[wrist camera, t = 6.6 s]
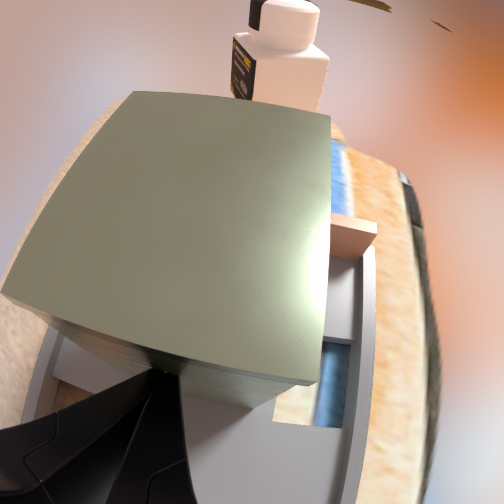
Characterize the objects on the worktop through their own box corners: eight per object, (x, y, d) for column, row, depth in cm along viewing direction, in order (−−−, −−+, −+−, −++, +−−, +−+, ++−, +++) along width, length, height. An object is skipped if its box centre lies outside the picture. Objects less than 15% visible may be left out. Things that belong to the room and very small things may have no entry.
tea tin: (255, 411, 14) (317, 381, 4) (134, 382, 14) (0, 292, 5) (277, 284, 18) (330, 116, 8) (172, 262, 18) (133, 90, 8)
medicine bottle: (229, 90, 30) (235, -11, 20) (289, 86, 32) (305, -7, 22) (248, 124, 27) (260, 2, 17) (316, 119, 29) (343, 11, 18)
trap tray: (301, 626, 6) (317, 656, 3) (23, 551, 7) (-10, 563, 3) (364, 260, 20) (388, 225, 17) (115, 213, 21) (100, 173, 17)
